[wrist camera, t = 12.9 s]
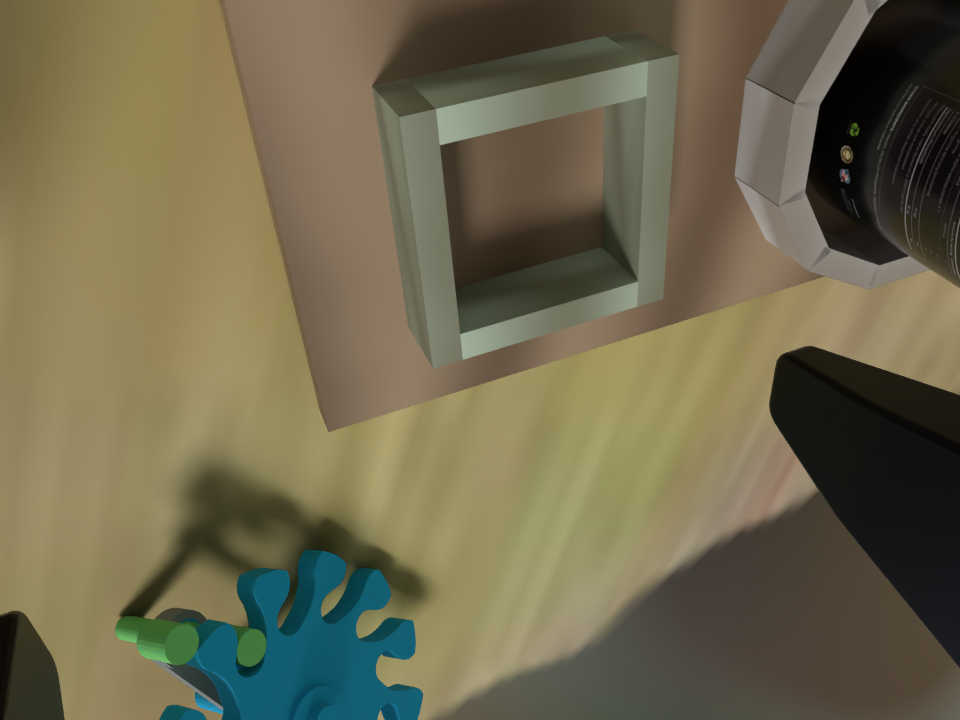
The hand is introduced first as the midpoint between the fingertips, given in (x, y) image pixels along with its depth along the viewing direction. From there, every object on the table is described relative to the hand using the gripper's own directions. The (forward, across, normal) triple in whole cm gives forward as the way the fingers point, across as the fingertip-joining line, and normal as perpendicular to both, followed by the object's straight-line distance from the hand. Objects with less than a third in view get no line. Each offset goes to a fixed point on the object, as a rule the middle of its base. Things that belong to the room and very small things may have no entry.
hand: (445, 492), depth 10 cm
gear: (+13, +3, +17) cm, 22 cm away
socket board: (+13, -12, +3) cm, 18 cm away
